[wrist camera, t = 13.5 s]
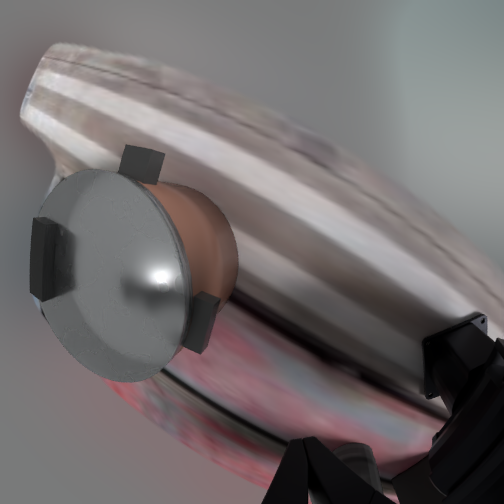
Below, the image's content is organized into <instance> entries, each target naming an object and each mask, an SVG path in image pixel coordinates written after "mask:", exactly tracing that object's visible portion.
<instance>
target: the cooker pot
mask: <svg viewBox="0 0 504 504" xmlns="http://www.w3.org/2000/svg"><path fill="white" fill-rule="evenodd" d="M164 157H165V153H162V152H158V151H155V150H152V149H147V148H142V147H137V146H131V145H126V146H125V149H124V152H123V156H122V160H121V163H120V167H119V171H118V173H121V174H124V175H127V176H129V177H131V178H133V179H135V180H136V181H138V182H140V183H141V184H142V185H143V186H145V187H146V188H147V189H148V190H150V191H151V192H152V193H153V195H154V196H155V197H156V198H157V199H158V200H159V201H160V202H161V204H162V205H163V206H164V208H165V209H166V211H167V212H168V213H169V215H170V217H171V219H172V220H173V222H174V224H175V226H176V228H177V230H178V232H179V235H180V237H181V239H182V242H183V244H184V247H185V251H186V254H187V257H188V261H189V266H190V271H191V277H192V288H193V307H192V315H191V321H190V326H189V329H188V332H187V336H186V338H185V340H184V342H183V344H182V346H181V348H180V350H181V349H182V348H183V347H185V348H187V349H190V350H192V351H194V352H196V353H199V354H201V353H202V352H203V351H204V350H205V349H206V348H207V346H208V343H209V339H210V336H211V332H212V329H213V325H214V322H215V318H216V314H217V313H218V312H219V311H220V310H221V309H222V308H223V307H224V305H225V304H226V303H227V301H228V300H229V298H230V296H231V294H232V292H233V289H234V286H235V283H236V279H237V274H238V251H237V245H236V241H235V237H234V234H233V232H232V229H231V227H230V225H229V223H228V221H227V219H226V218H225V216H224V214H223V213H222V212H221V210H220V209H219V208H218V207H217V206H216V205H215V204H214V203H213V202H212V201H211V200H210V199H209V198H208V197H206V196H205V195H204V194H202V193H200V192H199V191H197V190H195V189H192V188H190V187H187V186H183V185H178V184H172V183H165V182H158V178H159V174H160V171H161V167H162V164H163V160H164ZM180 350H179V351H180ZM179 351H178V352H179ZM178 352H177V353H178Z"/></svg>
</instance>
